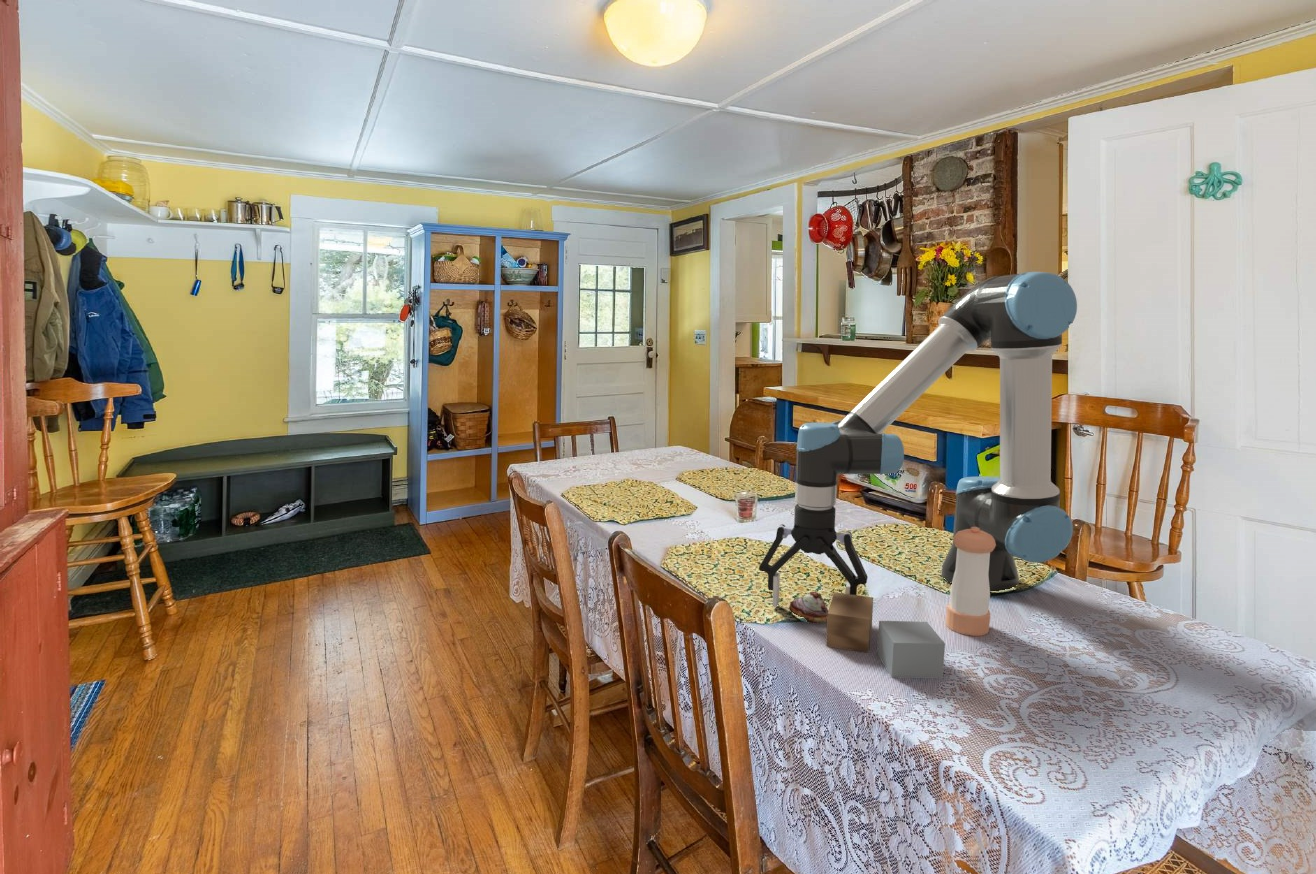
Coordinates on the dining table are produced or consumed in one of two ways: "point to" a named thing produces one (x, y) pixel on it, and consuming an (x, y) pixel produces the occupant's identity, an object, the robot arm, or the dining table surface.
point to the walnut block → (849, 622)
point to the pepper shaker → (970, 583)
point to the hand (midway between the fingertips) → (810, 611)
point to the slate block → (910, 649)
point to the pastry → (810, 608)
